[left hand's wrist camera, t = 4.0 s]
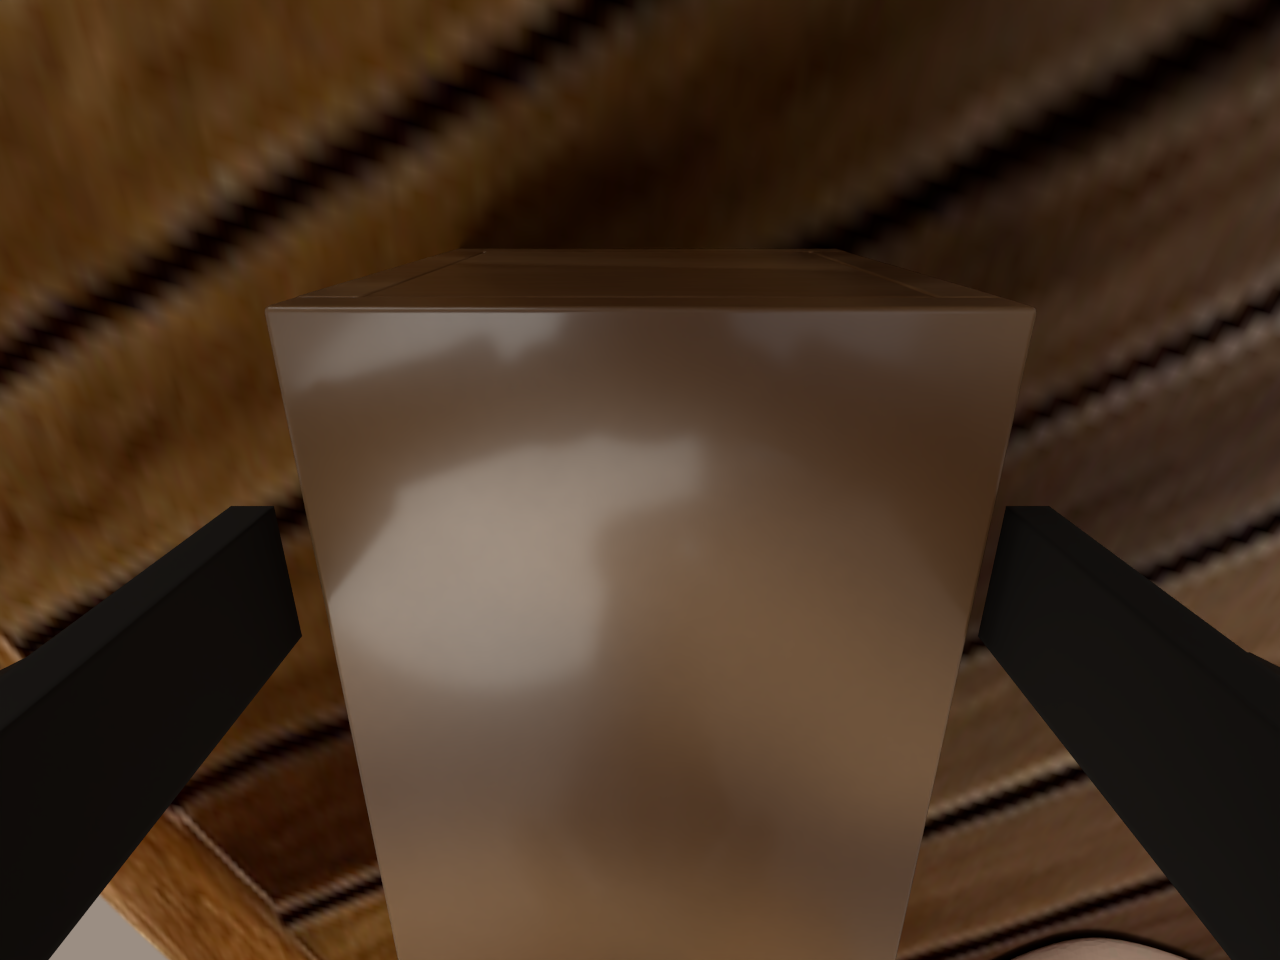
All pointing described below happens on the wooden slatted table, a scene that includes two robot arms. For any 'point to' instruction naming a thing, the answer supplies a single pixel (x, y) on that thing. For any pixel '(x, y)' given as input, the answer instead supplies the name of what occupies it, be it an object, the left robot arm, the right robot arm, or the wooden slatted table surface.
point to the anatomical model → (1097, 951)
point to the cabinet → (648, 585)
